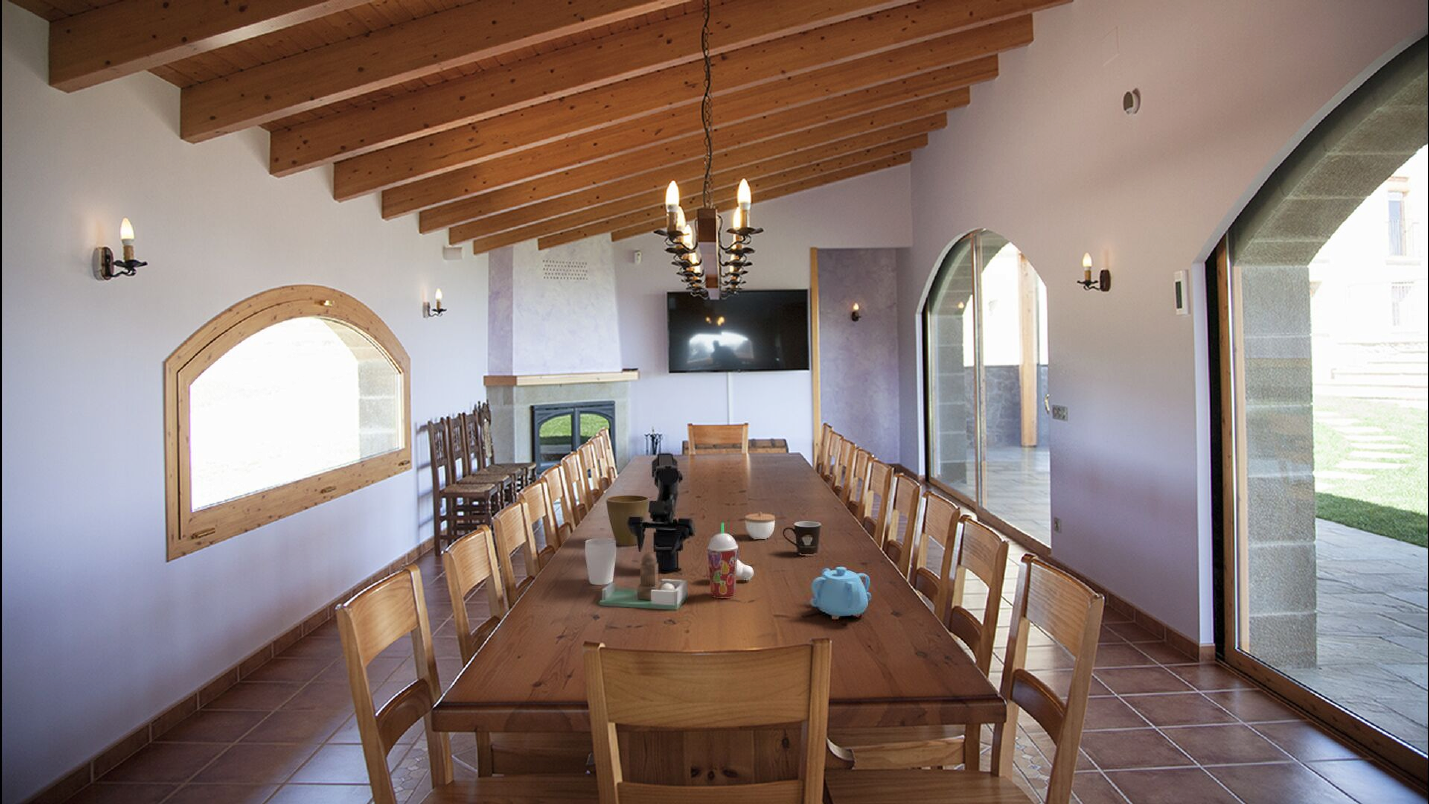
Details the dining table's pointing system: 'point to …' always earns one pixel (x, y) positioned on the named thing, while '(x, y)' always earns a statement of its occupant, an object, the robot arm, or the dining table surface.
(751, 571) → the penguin figurine
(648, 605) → the pitch
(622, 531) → the plant pot
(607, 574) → the cup
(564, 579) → the dining table surface
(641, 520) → the robot arm
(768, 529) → the lidded jar
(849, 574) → the teapot
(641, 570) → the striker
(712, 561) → the smoothie
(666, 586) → the ball
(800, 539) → the coffee mug
